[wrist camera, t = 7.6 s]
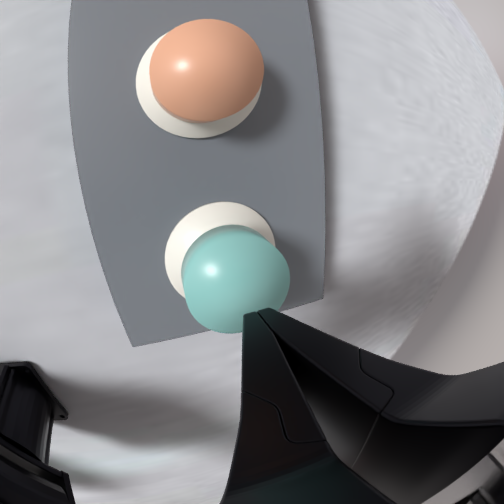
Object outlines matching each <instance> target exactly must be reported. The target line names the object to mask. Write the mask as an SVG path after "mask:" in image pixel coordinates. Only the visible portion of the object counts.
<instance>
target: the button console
mask: <svg viewBox="0 0 504 504" xmlns="http://www.w3.org/2000/svg"><path fill="white" fill-rule="evenodd" d="M199 19H216V20H221V21H226V22H228V23H231V24H233V25H235V26H237V27H239V28H241V29H242V30H244V31H245V32H246V33H247V34H248V35H250V37H251V38H252V39H253V40H254V41H255V43H256V44H257V46H258V48H259V50H260V52H261V54H262V58H263V63H264V76H263V81H262V84H261V87H260V89H259V91H258V93H257V94H256V96H255V97H254V98H253V100H252V101H251V102H250V103H249V104H248V105H247V106H246V107H244V108H243V109H242V110H240V111H239V112H237V113H235V114H233V115H231V116H228V117H225V118H222V119H220V120H216V121H213V122H208V123H190V122H185V121H182V120H179V119H177V118H174V117H173V116H171V115H170V114H168V113H167V112H166V111H164V110H163V109H162V108H161V106H160V105H159V104H158V102H157V101H156V99H155V97H154V95H153V92H152V89H151V83H150V75H149V66H150V60H151V57H152V54H153V51H154V49H155V47H156V46H157V44H158V43H159V41H160V40H161V39H162V38H163V37H164V36H165V35H166V34H167V33H168V32H170V31H171V30H172V29H174V28H175V27H177V26H179V25H181V24H184V23H186V22H189V21H193V20H199ZM68 87H69V104H70V116H71V126H72V135H73V142H74V150H75V156H76V162H77V168H78V174H79V179H80V184H81V189H82V194H83V199H84V203H85V208H86V212H87V216H88V220H89V224H90V228H91V232H92V235H93V239H94V242H95V246H96V249H97V253H98V256H99V259H100V262H101V266H102V269H103V272H104V275H105V278H106V281H107V284H108V286H109V289H110V292H111V295H112V298H113V300H114V303H115V306H116V308H117V311H118V313H119V316H120V318H121V321H122V323H123V326H124V328H125V330H126V333H127V335H128V337H129V340H130V342H131V344H132V346H133V347H136V346H142V345H147V344H152V343H156V342H161V341H166V340H171V339H175V338H180V337H184V336H189V335H193V334H197V333H201V332H206V331H210V329H208V328H206V327H204V326H203V325H201V324H200V323H199V322H198V321H197V320H196V319H195V318H194V317H193V315H192V314H191V312H190V310H189V308H188V306H187V303H186V298H185V294H184V289H183V284H182V279H181V267H182V262H183V259H184V256H185V254H186V252H187V250H188V249H189V247H190V246H191V245H192V243H193V242H194V241H195V240H196V239H197V238H198V237H199V236H201V235H202V234H204V233H205V232H207V231H209V230H211V229H213V228H216V227H219V226H223V225H243V226H246V227H249V228H252V229H254V230H256V231H257V232H259V233H260V234H261V235H262V236H264V237H265V238H266V239H267V240H268V241H269V242H270V243H271V244H272V245H273V246H274V247H275V248H276V249H278V250H279V252H280V253H281V254H282V255H283V257H284V258H285V260H286V262H287V264H288V267H289V271H290V285H289V290H288V293H287V296H286V298H285V301H284V302H283V304H282V306H281V307H280V308H279V310H278V312H281V311H284V310H288V309H291V308H294V307H298V306H301V305H304V304H307V303H311V302H314V301H317V300H320V299H323V291H324V266H325V173H324V148H323V130H322V116H321V103H320V91H319V81H318V72H317V63H316V55H315V47H314V39H313V32H312V26H311V19H310V13H309V7H308V2H307V0H72V1H71V10H70V21H69V37H68Z"/></svg>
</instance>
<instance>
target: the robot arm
mask: <svg viewBox="0 0 504 504" xmlns="http://www.w3.org/2000/svg"><path fill="white" fill-rule="evenodd" d="M241 392H242V393H241V411H240V422H239V428H238V435H237V440H236V445H235V450H234V454H233V459H232V464H231V469H230V473H229V478H228V482H227V485H226V489H225V492H224V494H223V497H222V500H221V502H220V504H504V362H502V363H499V364H496V365H493V366H490V367H487V368H483V369H480V370H476V371H473V372H469V373H466V374H461V375H443V374H438V373H435V372H431V371H427V370H423V369H420V368H416V367H412V366H409V365H405V364H402V363H399V362H395V361H393V360H390V359H386V358H384V357H381V356H379V355H376V354H373V353H371V352H368V351H366V350H364V349H361V348H360V349H359V348H358V347H356V346H354V345H352V344H349V343H347V342H345V341H342V340H340V339H338V338H336V337H333V336H331V335H329V334H327V333H324V332H322V331H320V330H318V329H315V328H313V327H311V326H309V325H306V324H304V323H302V322H300V321H298V320H296V319H293V318H291V317H289V316H287V315H285V314H283V313H280V312H278V311H276V310H274V309H272V308H269V307H268V308H264V309H261V310H258V311H257V312H255V311H253V312H249V313H246V314H244V315H243V334H242V382H241ZM67 419H68V413H67V412H66V410H65V409H64V408H63V407H62V406H61V404H60V403H59V402H58V401H57V399H56V398H55V397H54V396H53V394H52V393H51V392H50V390H49V389H48V388H47V386H46V385H45V384H44V382H43V381H42V380H41V378H40V377H39V375H38V374H37V372H36V371H35V369H34V368H33V367H32V365H31V364H29V363H27V362H19V363H8V364H0V504H75V500H74V496H73V492H72V488H71V484H70V479H69V475H68V473H65V472H63V471H59V470H57V469H55V468H53V467H51V466H49V465H48V463H49V452H50V443H51V434H52V427H53V421H54V420H67Z"/></svg>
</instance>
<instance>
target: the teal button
mask: <svg viewBox="0 0 504 504" xmlns="http://www.w3.org/2000/svg"><path fill="white" fill-rule="evenodd" d="M181 279H182V284H183V289H184V294H185V298H186V303H187V306H188V308H189V310H190V312H191V314H192V315H193V317H194V318H195V319H196V320H197V321H198V322H199V323H200V324H201V325H203V326H204V327H206V328H208V329H210V330H213V331H216V332H220V333H240V332H243V315H244V314H246V313H249V312H253V311H255V312H257V311H258V310H261V309H264V308H268V307H269V308H272V309H274V310H276V311H278V310H279V308H280V307H281V306H282V304H283V302H284V301H285V298H286V296H287V293H288V290H289V285H290V271H289V267H288V264H287V262H286V260H285V258H284V257H283V255H282V254H281V253H280V252H279V250H278V249H276V248H275V247H274V246H273V245H272V244H271V243H270V242H269V241H268V240H267V239H266V238H265V237H264V236H262V235H261V234H260V233H259V232H257V231H256V230H254V229H252V228H249V227H246V226H243V225H223V226H219V227H216V228H213V229H211V230H209V231H207V232H205V233H204V234H202V235H201V236H199V237H198V238H197V239H196V240H195V241H194V242H193V243H192V245H191V246H190V247H189V249H188V250H187V252H186V254H185V256H184V259H183V262H182V267H181Z"/></svg>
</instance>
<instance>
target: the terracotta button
mask: <svg viewBox="0 0 504 504" xmlns="http://www.w3.org/2000/svg"><path fill="white" fill-rule="evenodd" d="M149 75H150V83H151V89H152V92H153V95H154V97H155V99H156V101H157V102H158V104H159V105H160V106H161V108H162V109H163V110H164V111H166V112H167V113H168V114H170V115H171V116H173V117H174V118H177V119H179V120H182V121H185V122H190V123H208V122H213V121H216V120H220V119H222V118H225V117H228V116H231V115H233V114H235V113H237V112H239V111H240V110H242V109H243V108H244V107H246V106H247V105H248V104H249V103H250V102H251V101H252V100H253V98H254V97H255V96H256V94H257V93H258V91H259V89H260V87H261V84H262V81H263V76H264V63H263V58H262V54H261V52H260V50H259V48H258V46H257V44H256V43H255V41H254V40H253V39H252V38H251V37H250V35H248V34H247V33H246V32H245V31H244V30H242V29H241V28H239V27H237V26H235V25H233V24H231V23H228V22H226V21H221V20H216V19H199V20H193V21H189V22H186V23H184V24H181V25H179V26H177V27H175V28H174V29H172V30H171V31H170V32H168V33H167V34H166V35H165V36H164V37H163V38H162V39H161V40H160V41H159V43H158V44H157V46H156V47H155V49H154V51H153V54H152V57H151V60H150V66H149Z"/></svg>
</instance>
